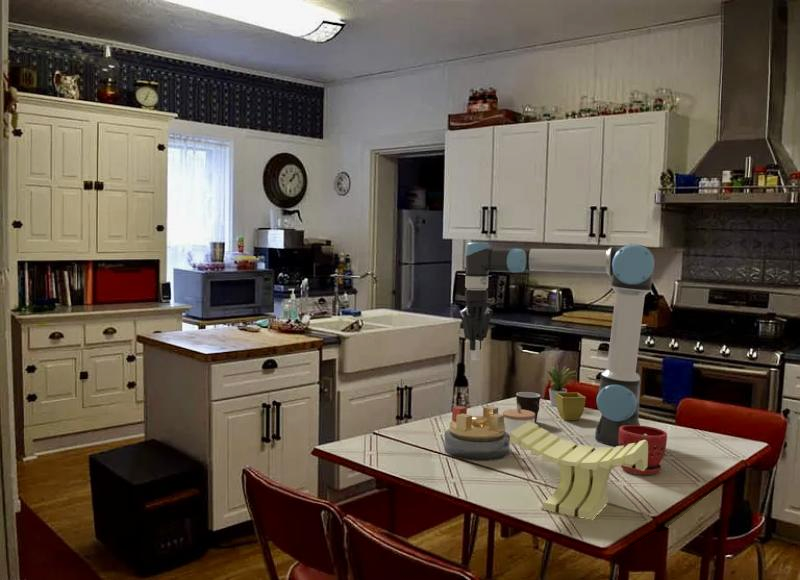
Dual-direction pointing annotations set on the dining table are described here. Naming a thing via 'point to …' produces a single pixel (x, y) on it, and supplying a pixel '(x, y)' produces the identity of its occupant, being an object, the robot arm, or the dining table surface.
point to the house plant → (558, 383)
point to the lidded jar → (517, 418)
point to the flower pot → (570, 405)
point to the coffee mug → (528, 402)
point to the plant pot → (653, 438)
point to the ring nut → (477, 425)
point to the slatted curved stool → (579, 468)
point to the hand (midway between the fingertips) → (475, 359)
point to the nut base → (476, 448)
